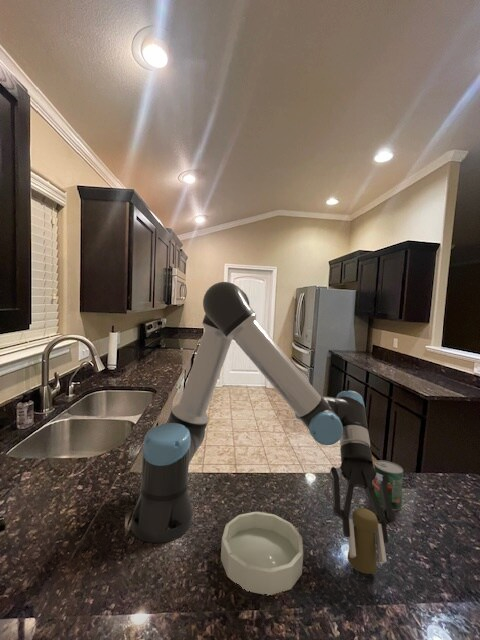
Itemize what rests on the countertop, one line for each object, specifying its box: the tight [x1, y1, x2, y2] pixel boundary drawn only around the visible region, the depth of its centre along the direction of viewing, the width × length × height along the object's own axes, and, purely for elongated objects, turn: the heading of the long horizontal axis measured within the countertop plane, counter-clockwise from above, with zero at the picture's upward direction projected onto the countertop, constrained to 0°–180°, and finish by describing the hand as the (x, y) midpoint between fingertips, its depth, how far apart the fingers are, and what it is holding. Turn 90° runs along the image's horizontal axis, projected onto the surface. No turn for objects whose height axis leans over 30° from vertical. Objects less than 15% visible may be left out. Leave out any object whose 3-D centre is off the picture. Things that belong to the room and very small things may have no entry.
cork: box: [347, 507, 378, 575], centre depth 65 cm, size 6×6×11 cm
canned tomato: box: [373, 459, 404, 512], centre depth 91 cm, size 8×8×11 cm
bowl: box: [220, 511, 304, 596], centre depth 66 cm, size 18×18×4 cm
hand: (367, 559), depth 61 cm, fingers closed on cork, 5 cm apart
